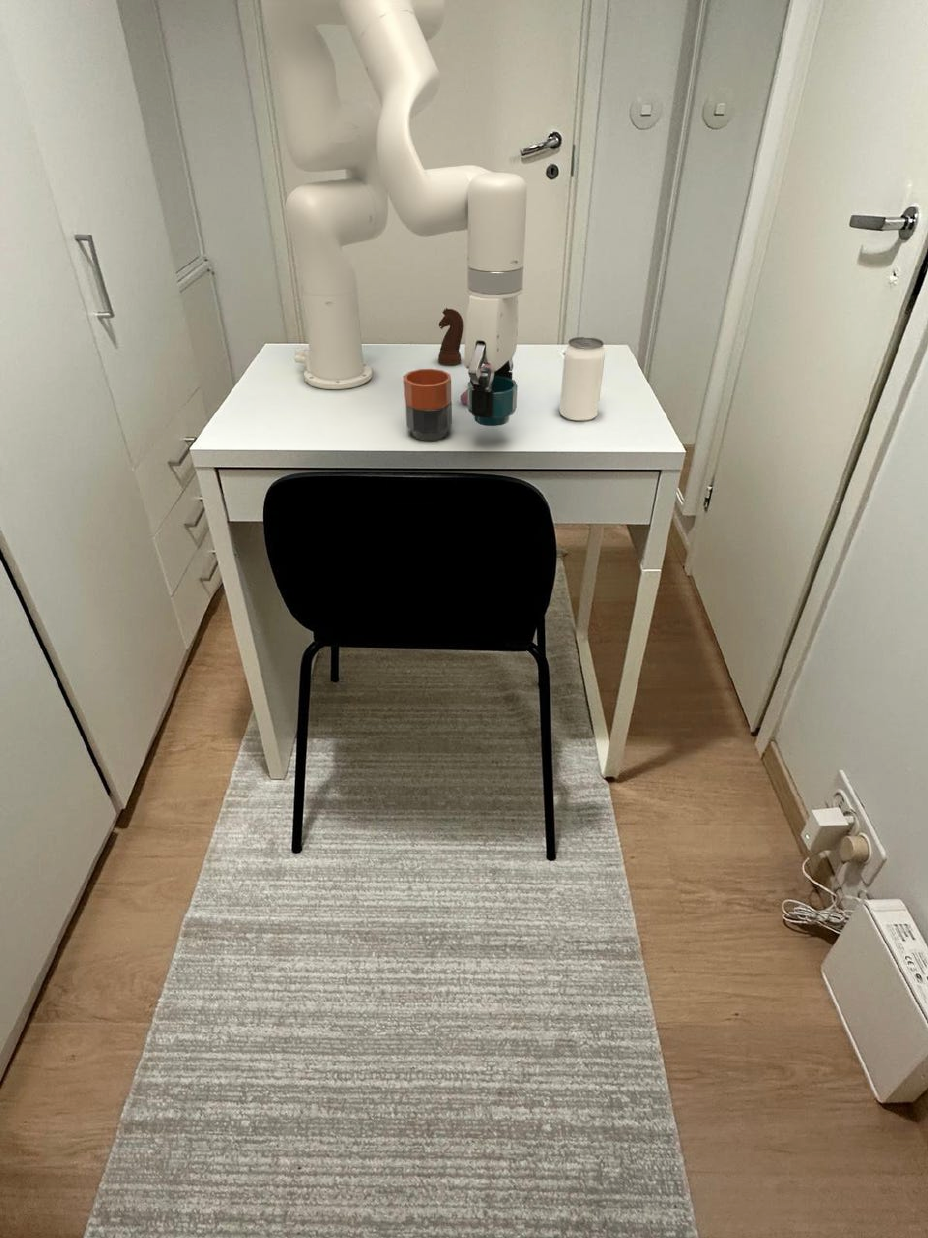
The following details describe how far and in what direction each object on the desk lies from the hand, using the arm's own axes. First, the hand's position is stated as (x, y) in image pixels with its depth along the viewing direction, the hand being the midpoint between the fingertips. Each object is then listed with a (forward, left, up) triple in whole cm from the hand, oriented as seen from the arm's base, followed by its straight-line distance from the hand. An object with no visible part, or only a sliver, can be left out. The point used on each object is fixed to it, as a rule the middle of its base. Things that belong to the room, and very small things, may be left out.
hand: (491, 405), depth 109 cm
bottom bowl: (-11, 0, -6) cm, 12 cm away
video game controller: (-9, +18, -7) cm, 21 cm away
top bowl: (0, 0, -2) cm, 2 cm away
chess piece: (-21, +32, -7) cm, 39 cm away
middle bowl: (-11, 0, -3) cm, 11 cm away
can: (+9, +17, -7) cm, 21 cm away
